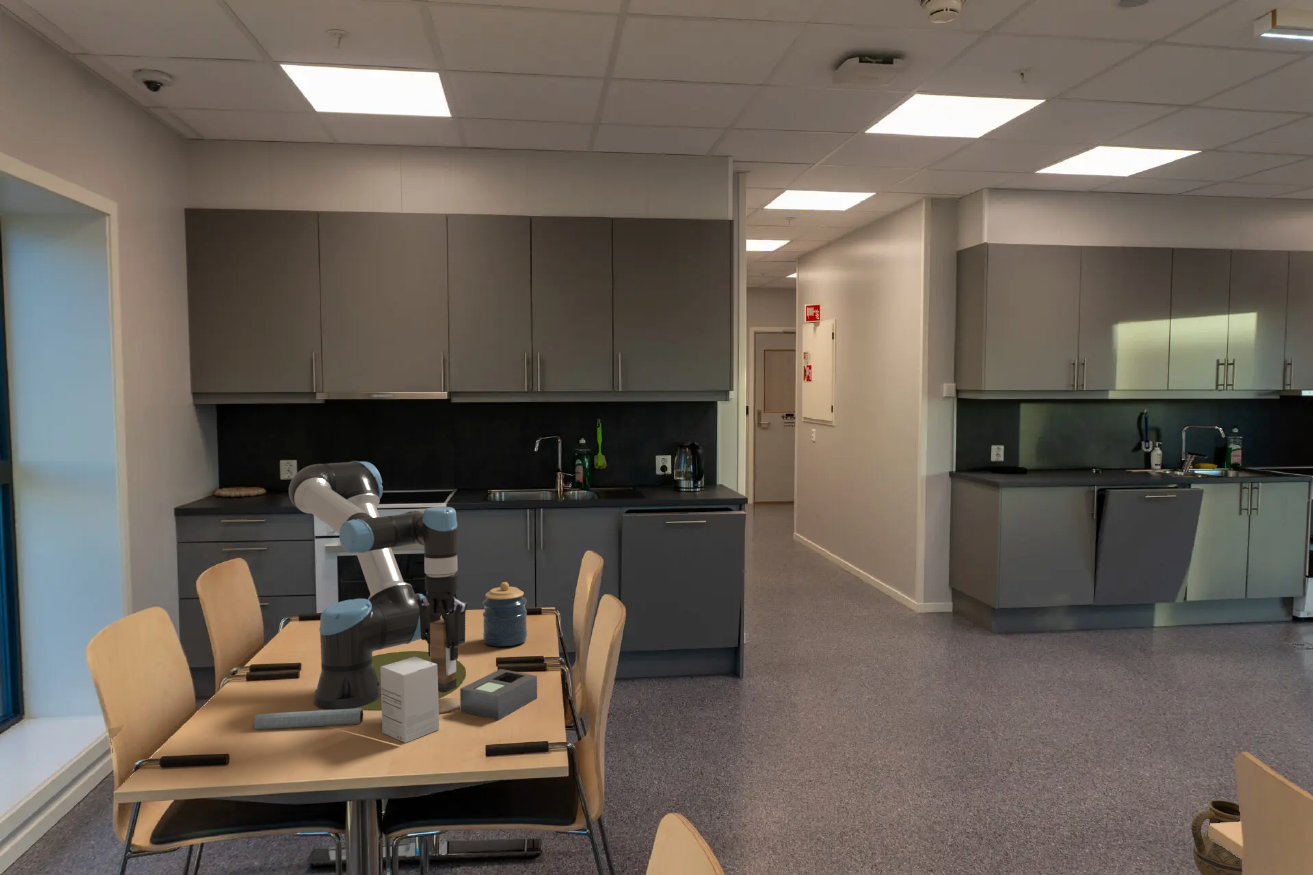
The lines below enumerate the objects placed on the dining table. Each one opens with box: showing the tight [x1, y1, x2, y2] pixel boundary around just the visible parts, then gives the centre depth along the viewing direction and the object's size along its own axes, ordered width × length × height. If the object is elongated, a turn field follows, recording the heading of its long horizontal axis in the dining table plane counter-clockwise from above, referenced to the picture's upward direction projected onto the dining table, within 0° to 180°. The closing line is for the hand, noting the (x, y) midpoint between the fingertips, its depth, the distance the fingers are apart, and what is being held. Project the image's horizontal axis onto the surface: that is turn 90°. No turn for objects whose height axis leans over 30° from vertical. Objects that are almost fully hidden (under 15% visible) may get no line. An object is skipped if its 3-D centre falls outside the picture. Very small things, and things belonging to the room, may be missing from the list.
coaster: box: [438, 697, 461, 715], centre depth 193 cm, size 8×8×1 cm
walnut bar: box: [430, 618, 457, 693], centre depth 192 cm, size 4×4×16 cm
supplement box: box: [379, 656, 440, 744], centre depth 179 cm, size 9×9×15 cm
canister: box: [482, 581, 528, 647], centre depth 244 cm, size 13×13×18 cm
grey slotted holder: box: [459, 668, 538, 721], centre depth 194 cm, size 11×15×6 cm
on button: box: [476, 682, 505, 693], centre depth 191 cm, size 5×5×2 cm
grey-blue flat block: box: [253, 707, 364, 731], centre depth 185 cm, size 23×7×3 cm, turn 98°
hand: (443, 671), depth 192 cm, fingers closed on walnut bar, 4 cm apart
